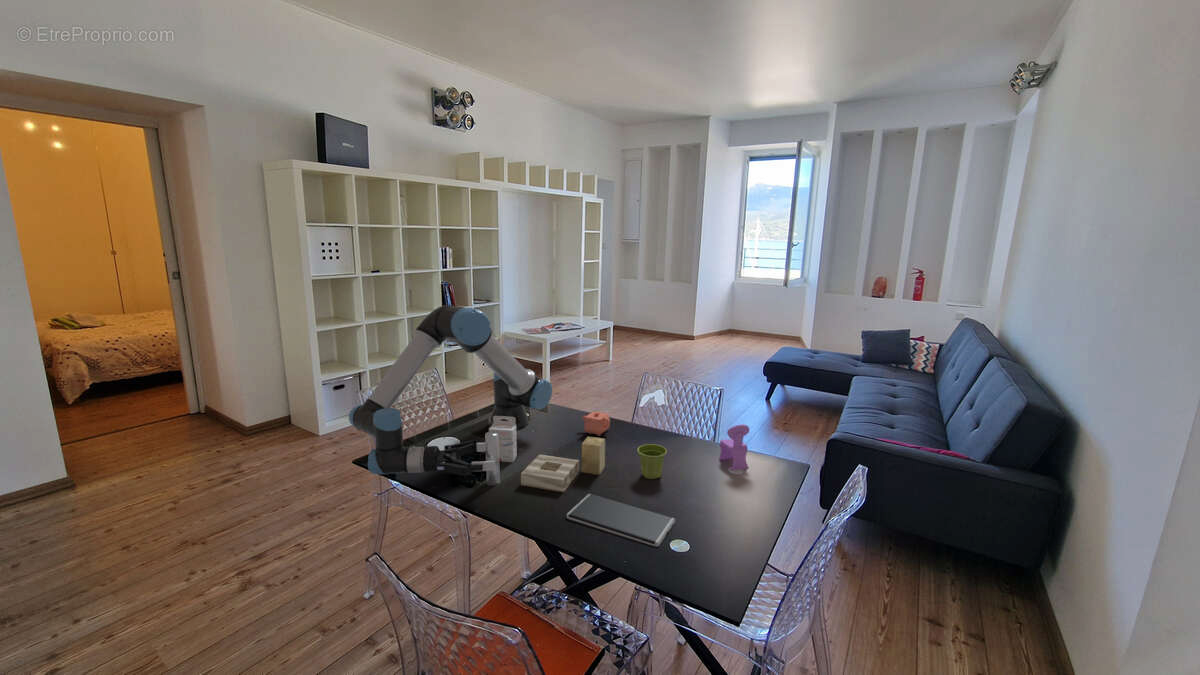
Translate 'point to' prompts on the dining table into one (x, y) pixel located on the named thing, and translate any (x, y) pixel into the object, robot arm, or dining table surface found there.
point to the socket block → (550, 473)
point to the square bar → (593, 455)
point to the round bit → (492, 457)
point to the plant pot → (651, 460)
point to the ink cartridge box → (505, 437)
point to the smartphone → (622, 519)
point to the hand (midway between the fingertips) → (496, 455)
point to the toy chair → (735, 447)
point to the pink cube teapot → (596, 422)
